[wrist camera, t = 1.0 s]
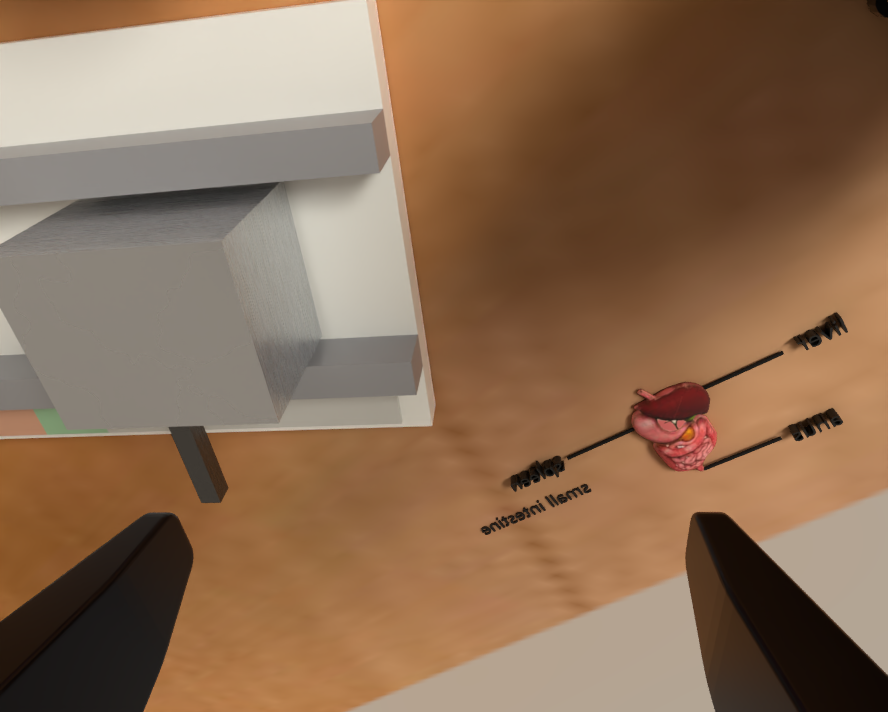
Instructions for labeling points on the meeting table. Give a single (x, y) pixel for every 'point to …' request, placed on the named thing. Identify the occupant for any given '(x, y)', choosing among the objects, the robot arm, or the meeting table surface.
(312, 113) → the gauge bed
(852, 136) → the meeting table surface
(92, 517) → the meeting table surface
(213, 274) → the brushed metal block
